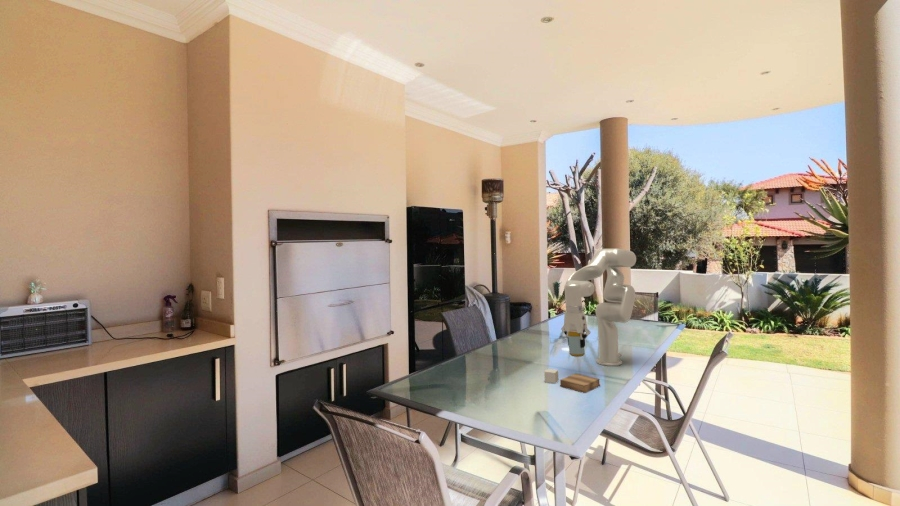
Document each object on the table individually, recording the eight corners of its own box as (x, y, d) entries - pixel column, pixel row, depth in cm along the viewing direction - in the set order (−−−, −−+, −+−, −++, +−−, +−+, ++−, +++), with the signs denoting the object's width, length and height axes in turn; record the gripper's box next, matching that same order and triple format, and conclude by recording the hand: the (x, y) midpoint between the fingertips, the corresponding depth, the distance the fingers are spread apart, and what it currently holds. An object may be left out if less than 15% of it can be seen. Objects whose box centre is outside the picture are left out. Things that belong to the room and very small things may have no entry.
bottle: (585, 357, 193) (583, 325, 193) (570, 357, 195) (568, 326, 194) (583, 352, 200) (581, 322, 199) (569, 352, 201) (566, 322, 201)
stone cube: (548, 379, 194) (547, 368, 194) (558, 380, 192) (558, 369, 192) (544, 382, 190) (544, 371, 190) (555, 383, 187) (555, 372, 187)
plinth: (575, 379, 191) (575, 373, 191) (600, 385, 182) (600, 379, 182) (559, 386, 183) (559, 379, 183) (584, 393, 174) (584, 386, 174)
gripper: (594, 309, 192) (597, 347, 193) (563, 306, 205) (565, 341, 206) (585, 312, 187) (588, 351, 188) (554, 308, 201) (556, 345, 201)
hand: (576, 345), depth 197 cm, fingers closed on bottle, 5 cm apart
